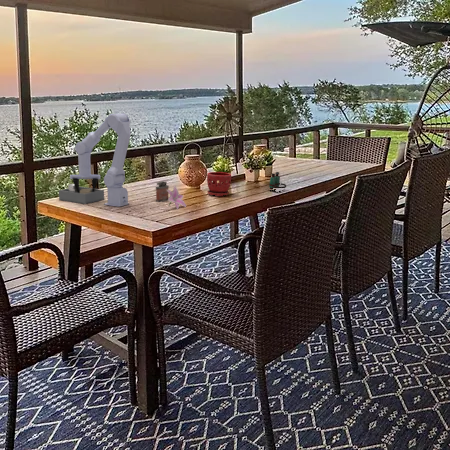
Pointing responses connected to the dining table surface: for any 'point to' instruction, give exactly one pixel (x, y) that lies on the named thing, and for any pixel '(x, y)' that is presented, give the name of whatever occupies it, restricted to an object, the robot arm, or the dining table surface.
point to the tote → (81, 196)
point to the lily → (176, 197)
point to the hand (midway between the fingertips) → (86, 193)
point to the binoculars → (275, 181)
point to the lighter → (162, 191)
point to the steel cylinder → (72, 188)
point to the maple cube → (85, 191)
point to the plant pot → (220, 187)
